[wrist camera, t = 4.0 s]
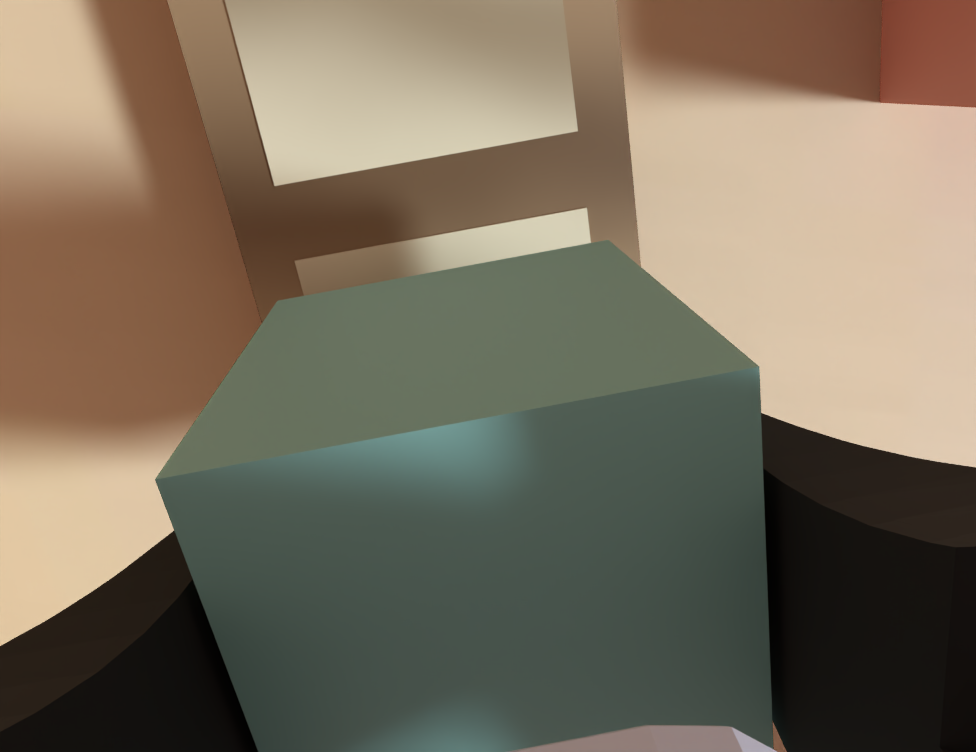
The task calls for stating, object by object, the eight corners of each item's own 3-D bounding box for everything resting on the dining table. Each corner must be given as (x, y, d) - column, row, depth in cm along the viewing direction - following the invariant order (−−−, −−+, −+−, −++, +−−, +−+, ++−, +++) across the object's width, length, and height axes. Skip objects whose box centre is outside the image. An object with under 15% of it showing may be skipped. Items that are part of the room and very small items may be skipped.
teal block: (639, 522, 14) (775, 800, 9) (355, 576, 14) (311, 889, 9) (608, 240, 12) (759, 367, 7) (277, 300, 12) (155, 480, 7)
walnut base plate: (640, 462, 20) (663, 503, 18) (340, 518, 20) (332, 565, 18) (562, -292, 14) (585, -350, 12) (134, -217, 14) (88, -264, 12)
